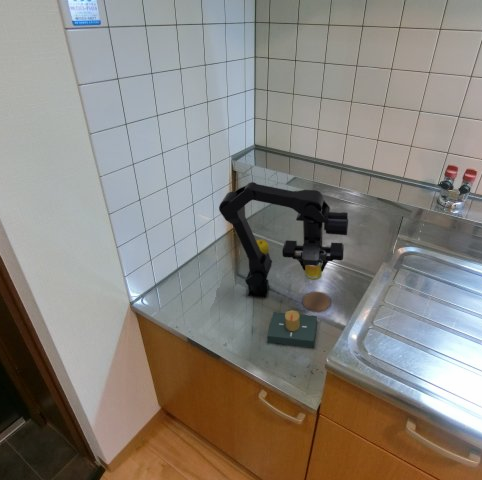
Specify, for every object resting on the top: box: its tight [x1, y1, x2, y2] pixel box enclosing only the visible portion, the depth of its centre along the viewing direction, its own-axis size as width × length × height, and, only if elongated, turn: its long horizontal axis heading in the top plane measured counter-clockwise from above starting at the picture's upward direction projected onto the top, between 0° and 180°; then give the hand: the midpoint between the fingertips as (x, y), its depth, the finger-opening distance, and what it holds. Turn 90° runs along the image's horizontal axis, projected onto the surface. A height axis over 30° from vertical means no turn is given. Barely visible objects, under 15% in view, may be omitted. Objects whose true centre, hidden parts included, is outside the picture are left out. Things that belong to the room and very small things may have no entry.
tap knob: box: [285, 309, 300, 331], centre depth 114 cm, size 4×4×5 cm
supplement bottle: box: [304, 263, 323, 282], centre depth 120 cm, size 5×5×10 cm
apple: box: [256, 238, 270, 254], centre depth 148 cm, size 6×6×8 cm
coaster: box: [302, 291, 331, 313], centre depth 127 cm, size 9×9×1 cm
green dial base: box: [267, 311, 318, 348], centre depth 116 cm, size 14×10×3 cm
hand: (313, 270), depth 122 cm, fingers closed on supplement bottle, 5 cm apart
